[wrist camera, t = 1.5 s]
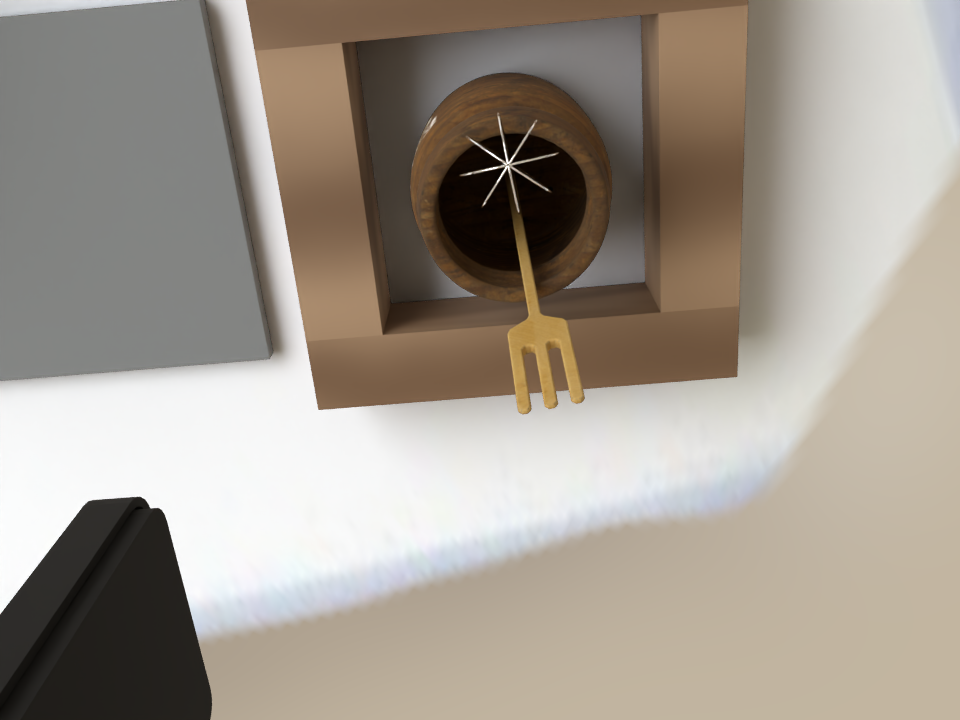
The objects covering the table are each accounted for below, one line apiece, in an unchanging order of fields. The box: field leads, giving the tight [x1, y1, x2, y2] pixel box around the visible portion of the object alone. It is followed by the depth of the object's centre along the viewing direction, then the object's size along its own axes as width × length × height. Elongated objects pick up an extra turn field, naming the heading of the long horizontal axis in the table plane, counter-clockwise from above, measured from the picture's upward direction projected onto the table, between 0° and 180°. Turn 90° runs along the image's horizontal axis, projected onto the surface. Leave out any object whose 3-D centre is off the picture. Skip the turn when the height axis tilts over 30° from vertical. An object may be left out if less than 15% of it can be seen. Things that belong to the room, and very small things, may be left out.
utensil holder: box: [410, 73, 612, 414], centre depth 25 cm, size 6×6×12 cm
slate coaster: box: [0, 0, 273, 381], centre depth 30 cm, size 12×12×1 cm
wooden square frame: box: [246, 0, 748, 410], centre depth 29 cm, size 14×14×3 cm
